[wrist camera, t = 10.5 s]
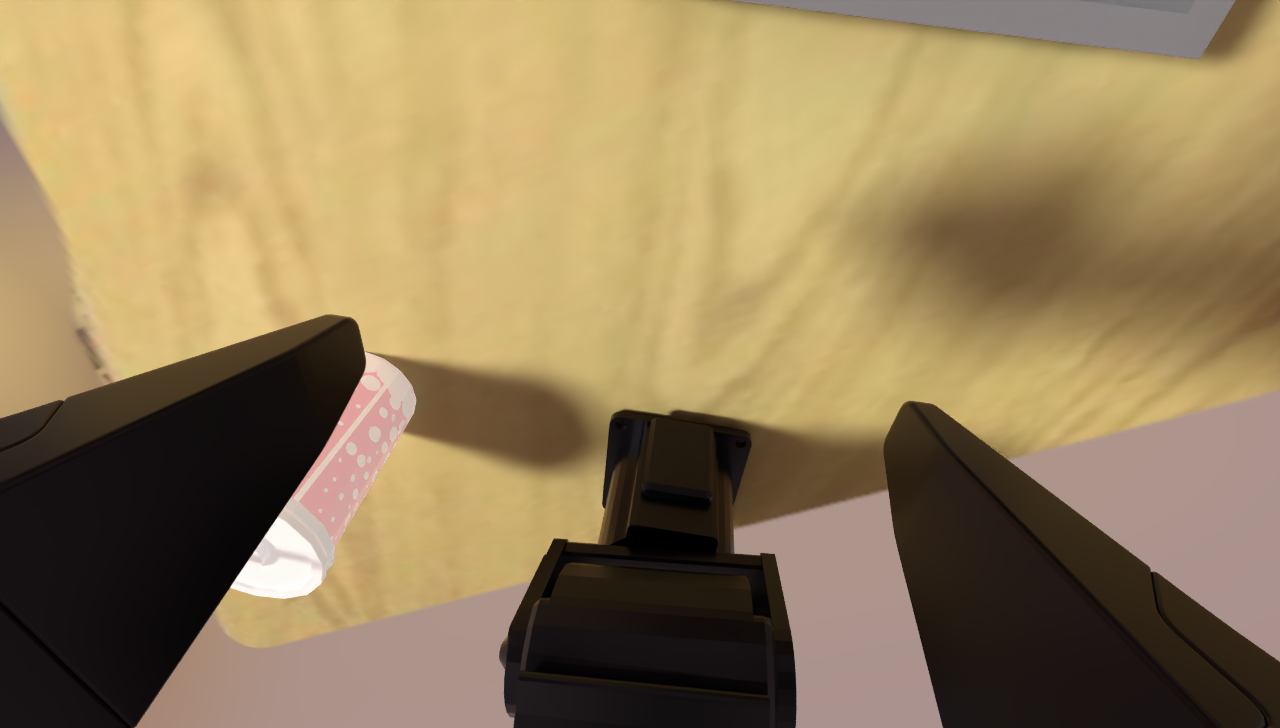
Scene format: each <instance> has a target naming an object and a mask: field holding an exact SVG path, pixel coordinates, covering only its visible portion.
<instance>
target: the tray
mask: <svg viewBox="0 0 1280 728" xmlns="http://www.w3.org/2000/svg"><path fill="white" fill-rule="evenodd" d="M734 1H742V2H750V3H758V4H766V5H774V6H782V7H789V8H797V9H805V10H813V11H821V12H829V13H837V14H845V15H853V16H860V17H868V18H876V19H884V20H892V21H900V22H908V23H916V24H924V25H931V26H939V27H947V28H955V29H963V30H971V31H979V32H987V33H995V34H1002V35H1010V36H1018V37H1026V38H1034V39H1042V40H1050V41H1058V42H1066V43H1073V44H1081V45H1089V46H1097V47H1105V48H1113V49H1121V50H1129V51H1137V52H1144V53H1152V54H1160V55H1168V56H1176V57H1184V58H1192V59H1200V58H1201V56H1202V54H1203V53H1204V51H1205V49H1206V48H1207V46H1208V45H1209V43H1210V41H1211V40H1212V38H1213V36H1214V35H1215V33H1216V32H1217V30H1218V28H1219V27H1220V25H1221V23H1222V22H1223V20H1224V19H1225V17H1226V15H1227V14H1228V12H1229V10H1230V9H1231V7H1232V6H1233V4H1234V2H1235V1H1236V0H734Z"/></svg>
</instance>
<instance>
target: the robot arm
mask: <svg viewBox="0 0 1280 728" xmlns="http://www.w3.org/2000/svg"><path fill="white" fill-rule="evenodd" d="M365 368H366V356H365V352H364V347H363V343H362V339H361V335H360V330H359V327H358V324H357V322H356V321H355V320H354V319H353V318H351V317H345V316H338V315H331V314H330V315H324V316H321V317H317V318H314V319H311V320H308V321H305V322H302V323H299V324H296V325H292V326H289V327H286V328H283V329H280V330H277V331H274V332H271V333H267V334H264V335H261V336H258V337H255V338H252V339H249V340H246V341H242V342H239V343H236V344H233V345H230V346H227V347H224V348H221V349H217V350H214V351H211V352H208V353H205V354H202V355H199V356H196V357H192V358H189V359H186V360H183V361H180V362H177V363H174V364H171V365H167V366H164V367H161V368H158V369H155V370H152V371H149V372H145V373H142V374H139V375H136V376H133V377H130V378H127V379H124V380H120V381H117V382H114V383H111V384H108V385H105V386H102V387H99V388H95V389H93V390H89V391H86V392H83V393H80V394H77V395H74V396H70V397H68V398H67V399H66V400H65V401H63V400H58V401H54V402H51V403H48V404H45V405H42V406H39V407H36V408H33V409H29V410H26V411H23V412H20V413H17V414H13V415H10V416H7V417H4V418H0V728H135V727H136V726H137V724H138V723H139V721H140V720H141V718H142V717H143V715H144V714H145V712H146V711H147V710H148V708H149V707H150V705H151V703H152V702H153V701H154V699H155V698H156V696H157V695H158V693H159V692H160V690H161V689H162V687H163V686H164V684H165V683H166V681H167V680H168V679H169V677H170V676H171V674H172V673H173V671H174V670H175V668H176V667H177V665H178V664H179V662H180V661H181V659H182V658H183V656H184V655H185V653H186V652H187V650H188V649H189V647H190V646H191V644H192V643H193V642H194V640H195V639H196V637H197V636H198V634H199V633H200V631H201V630H202V628H203V627H204V625H205V624H206V622H207V621H208V619H209V618H210V616H211V615H212V614H213V612H214V611H215V609H216V608H217V606H218V605H219V603H220V602H221V600H222V599H223V597H224V596H225V594H226V593H227V591H228V590H229V588H230V587H231V585H232V584H233V583H234V581H235V580H236V578H237V577H238V575H239V574H240V572H241V571H242V569H243V568H244V566H245V565H246V563H247V562H248V560H249V559H250V557H251V556H252V554H253V553H254V551H255V550H256V549H257V547H258V546H259V544H260V543H261V541H262V540H263V538H264V537H265V535H266V534H267V532H268V531H269V529H270V528H271V526H272V525H273V523H274V522H275V520H276V519H277V517H278V516H279V515H280V513H281V512H282V510H283V509H284V507H285V506H286V504H287V503H288V501H289V500H290V498H291V497H292V495H293V494H294V492H295V491H296V489H297V488H298V486H299V485H300V484H301V482H302V481H303V479H304V478H305V476H306V475H307V473H308V472H309V470H310V469H311V467H312V466H313V464H314V463H315V461H316V460H317V458H318V457H319V455H320V454H321V452H322V451H323V449H324V447H325V446H326V444H327V442H328V441H329V439H330V437H331V435H332V433H333V432H334V430H335V428H336V426H337V424H338V422H339V420H340V418H341V416H342V414H343V412H344V411H345V409H346V407H347V405H348V403H349V401H350V399H351V397H352V395H353V393H354V391H355V389H356V388H357V386H358V384H359V382H360V380H361V378H362V376H363V374H364V372H365ZM618 421H621V422H624V423H625V424H620V423H618ZM737 440H743V442H737ZM750 449H751V436H750V434H749V433H748V432H747V431H744V430H739V429H733V428H726V427H720V426H713V425H707V424H700V423H694V422H687V421H681V420H674V419H667V418H661V417H654V416H648V415H641V414H635V413H628V412H616V413H614V414H613V415H612V417H611V421H610V426H609V437H608V447H607V458H606V469H605V479H604V490H603V501H602V505H603V507H604V508H605V512H604V517H603V522H602V527H601V531H600V536H599V541H598V544H592V543H578V542H568V539H555V538H554V540H553V542H552V544H551V546H550V548H549V550H548V552H547V554H546V555H544V557H543V559H542V561H541V563H540V565H539V567H538V569H537V571H536V573H535V575H534V577H533V579H532V581H531V583H530V586H529V588H528V590H527V592H526V594H525V596H524V598H523V600H522V602H521V604H520V606H519V608H518V610H517V612H516V615H515V617H514V619H513V621H512V623H511V625H510V628H509V632H508V636H507V637H506V639H505V640H504V641H503V643H502V645H501V648H500V655H499V659H500V662H501V663H502V665H503V667H504V669H505V677H504V699H505V707H506V711H507V713H508V715H509V716H510V717H514V718H515V719H514V728H795V726H796V673H795V660H794V651H793V642H792V636H791V630H790V626H789V620H788V615H787V611H786V606H785V601H784V596H783V591H782V586H781V581H780V577H779V572H778V567H777V562H776V558H775V554H767V553H760V555H745V554H734V530H733V504H734V501H735V498H736V494H737V491H738V488H739V485H740V481H741V478H742V475H743V471H744V468H745V465H746V462H747V458H748V455H749V452H750ZM884 459H885V467H886V474H887V482H888V490H889V498H890V506H891V513H892V521H893V528H894V534H895V539H896V543H897V547H898V551H899V555H900V560H901V563H902V568H903V572H904V576H905V579H906V583H907V587H908V591H909V595H910V599H911V603H912V607H913V611H914V615H915V619H916V623H917V627H918V631H919V634H920V639H921V643H922V646H923V651H924V654H925V659H926V663H927V666H928V670H929V674H930V678H931V682H932V686H933V690H934V694H935V698H936V702H937V706H938V710H939V714H940V718H941V722H942V726H943V728H1280V662H1279V661H1278V660H1276V659H1275V658H1274V657H1272V656H1270V655H1269V654H1268V653H1266V652H1265V651H1264V650H1262V649H1261V648H1259V647H1258V646H1256V645H1255V644H1254V643H1252V642H1251V641H1249V640H1248V639H1246V638H1245V637H1244V636H1242V635H1241V634H1239V633H1238V632H1237V631H1235V630H1234V629H1232V628H1231V627H1230V626H1228V625H1227V624H1226V623H1224V622H1223V621H1222V620H1220V619H1219V618H1217V617H1216V616H1215V615H1213V614H1212V613H1211V612H1209V611H1208V610H1206V609H1205V608H1204V607H1202V606H1201V605H1200V604H1198V603H1197V602H1196V601H1194V600H1193V599H1191V598H1190V597H1189V596H1188V595H1186V594H1185V593H1184V592H1182V591H1181V590H1179V589H1178V588H1177V587H1176V586H1174V585H1173V584H1172V583H1170V582H1169V581H1168V580H1166V579H1165V578H1164V577H1162V576H1161V575H1160V574H1158V573H1157V572H1151V570H1150V567H1149V566H1148V565H1146V564H1145V563H1144V562H1142V561H1141V560H1140V559H1138V558H1137V557H1136V556H1134V555H1133V554H1132V553H1130V552H1129V551H1128V550H1126V549H1125V548H1124V547H1122V546H1121V545H1120V544H1118V543H1117V542H1116V541H1114V540H1113V539H1112V538H1110V537H1109V536H1108V535H1106V534H1105V533H1104V532H1103V531H1101V530H1100V529H1099V528H1097V527H1096V526H1095V525H1093V524H1092V523H1091V522H1089V521H1088V520H1087V519H1085V518H1084V517H1083V516H1081V515H1080V514H1079V513H1077V512H1076V511H1075V510H1073V509H1072V508H1071V507H1069V506H1068V505H1067V504H1065V503H1064V502H1063V501H1061V500H1060V499H1059V498H1057V497H1056V496H1055V495H1053V494H1052V493H1051V492H1049V491H1048V490H1047V489H1045V488H1044V487H1043V486H1042V485H1040V484H1039V483H1037V482H1036V481H1035V480H1034V479H1032V478H1031V477H1029V476H1028V475H1027V474H1026V473H1024V472H1023V471H1021V470H1020V469H1019V468H1018V467H1016V466H1015V465H1014V464H1012V463H1011V462H1010V461H1008V460H1007V459H1006V458H1004V457H1003V456H1002V455H1000V454H999V453H998V452H996V451H995V450H994V449H992V448H991V447H990V446H989V445H987V444H986V443H985V442H983V441H982V440H981V439H979V438H978V437H977V436H975V435H974V434H973V433H971V432H970V431H969V430H967V429H966V428H965V427H963V426H962V425H961V424H959V423H958V422H957V421H955V420H954V419H953V418H951V417H950V416H949V415H947V414H946V413H945V412H943V411H942V410H941V409H939V408H938V407H937V406H935V405H933V404H930V403H923V402H916V401H908V402H905V403H904V404H903V405H902V407H901V408H900V410H899V412H898V414H897V416H896V418H895V420H894V422H893V424H892V426H891V428H890V430H889V432H888V434H887V436H886V439H885V442H884Z"/></svg>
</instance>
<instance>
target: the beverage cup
mask: <svg viewBox="0 0 1280 728" xmlns="http://www.w3.org/2000/svg"><path fill="white" fill-rule="evenodd" d="M364 352H365V351H364ZM365 356H366V368H365V372H364V374H363V376H362V378H361V380H360V382H359V384H358V386H357V388H356V389H355V391H354V393H353V395H352V397H351V399H350V401H349V403H348V405H347V407H346V409H345V411H344V412H343V414H342V416H341V418H340V420H339V422H338V424H337V426H336V428H335V430H334V432H333V433H332V435H331V437H330V439H329V441H328V442H327V444H326V446H325V447H324V449H323V451H322V452H321V454H320V455H319V457H318V458H317V460H316V461H315V463H314V464H313V466H312V467H311V469H310V470H309V472H308V473H307V475H306V476H305V478H304V479H303V481H302V482H301V484H300V485H299V486H298V488H297V489H296V491H295V492H294V494H293V495H292V497H291V498H290V500H289V501H288V503H287V504H286V506H285V507H284V509H283V510H282V512H281V513H280V515H279V516H278V517H277V519H276V520H275V522H274V523H273V525H272V526H271V528H270V529H269V531H268V532H267V534H266V535H265V537H264V538H263V540H262V541H261V543H260V544H259V546H258V547H257V549H256V550H255V551H254V553H253V554H252V556H251V557H250V559H249V560H248V562H247V563H246V565H245V566H244V568H243V569H242V571H241V572H240V574H239V575H238V577H237V578H236V580H235V581H234V583H233V584H232V585H231V587H230V588H232V589H236V590H239V591H242V592H245V593H249V594H252V595H255V596H264V597H274V598H283V599H286V598H291V597H297V596H303V595H308V594H309V593H310V592H311V591H313V590H314V589H315V588H316V587H317V586H319V585H320V584H321V583H322V581H323V580H324V578H325V577H326V571H327V570H328V569H329V568H330V567H331V566H332V565H333V560H334V551H335V546H336V545H337V543H338V541H339V540H340V538H341V536H342V535H343V533H344V531H345V529H346V528H347V526H348V524H349V523H350V521H351V519H352V518H353V516H354V514H355V512H356V511H357V509H358V507H359V506H360V504H361V502H362V501H363V499H364V497H365V495H366V494H367V492H368V490H369V489H370V487H371V485H372V484H373V482H374V480H375V478H376V477H377V475H378V473H379V472H380V470H381V468H382V467H383V465H384V463H385V462H386V460H387V458H388V456H389V455H390V453H391V451H392V450H393V448H394V446H395V445H396V443H397V441H398V439H399V438H400V436H401V434H402V433H403V431H404V429H405V428H406V426H407V424H408V422H409V421H410V419H411V417H412V416H413V414H414V411H415V406H416V401H417V400H416V397H415V394H414V390H413V387H412V385H411V384H410V382H409V381H408V380H407V378H406V377H405V376H404V375H403V373H402V372H401V371H400V370H399V369H397V368H396V367H395V366H393V365H392V364H390V363H389V362H388V361H386V360H385V359H383V358H381V357H378V356H375V355H373V354H370V353H367V352H365Z"/></svg>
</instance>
